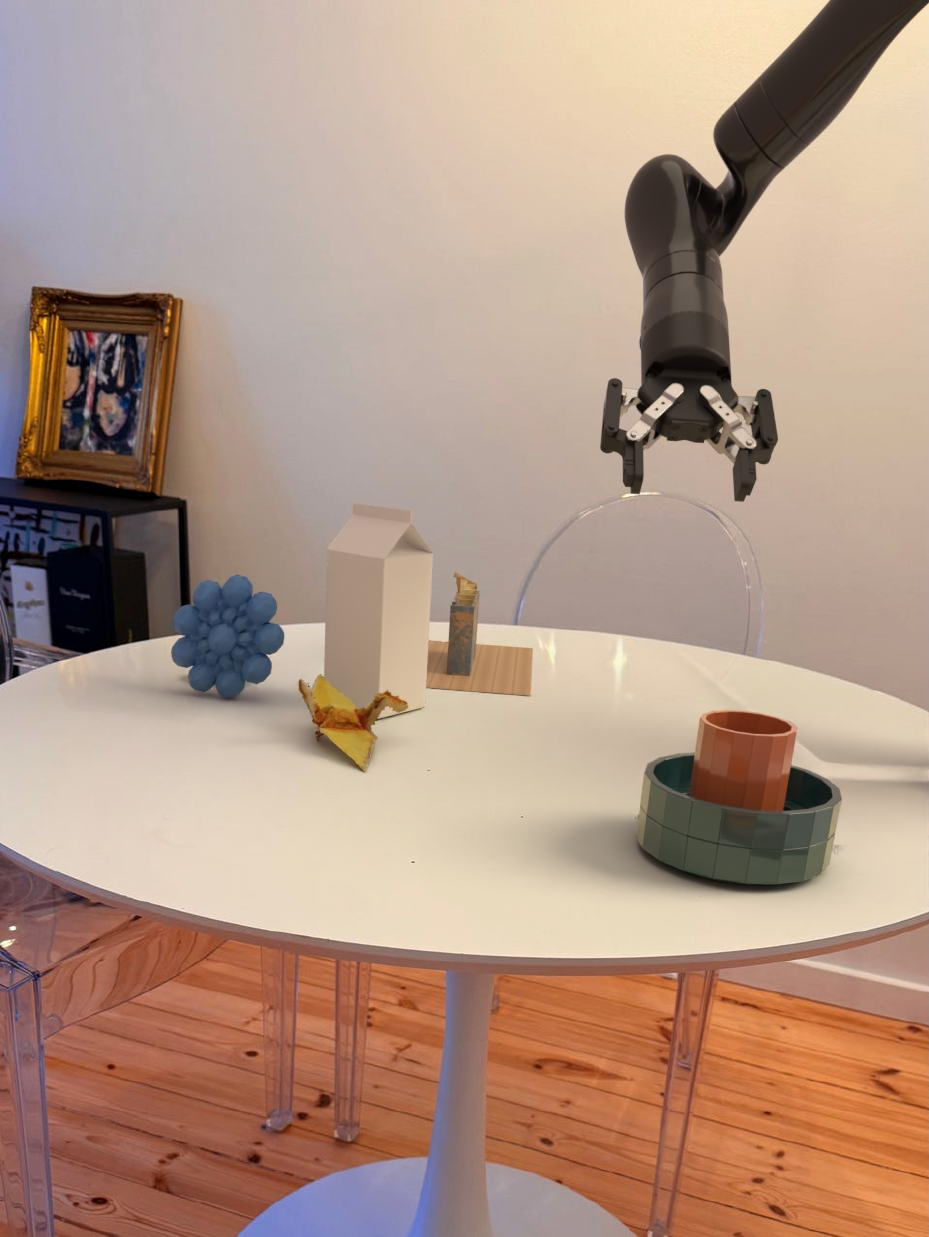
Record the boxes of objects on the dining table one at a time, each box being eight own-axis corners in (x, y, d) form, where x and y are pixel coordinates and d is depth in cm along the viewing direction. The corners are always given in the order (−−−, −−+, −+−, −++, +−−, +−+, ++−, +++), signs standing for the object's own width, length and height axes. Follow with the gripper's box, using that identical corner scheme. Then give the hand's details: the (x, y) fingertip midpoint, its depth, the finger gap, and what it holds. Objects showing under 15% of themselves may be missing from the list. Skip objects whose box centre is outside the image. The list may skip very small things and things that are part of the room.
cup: (759, 831, 84) (778, 712, 80) (788, 865, 78) (811, 737, 75) (673, 828, 83) (690, 708, 80) (696, 862, 77) (715, 733, 74)
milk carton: (377, 721, 107) (386, 512, 101) (322, 705, 111) (327, 503, 104) (425, 708, 113) (436, 509, 106) (371, 694, 116) (378, 501, 110)
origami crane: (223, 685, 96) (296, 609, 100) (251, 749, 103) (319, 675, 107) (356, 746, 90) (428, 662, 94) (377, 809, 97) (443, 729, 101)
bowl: (789, 824, 87) (801, 755, 85) (857, 895, 75) (873, 817, 73) (619, 818, 86) (627, 748, 84) (660, 889, 74) (671, 809, 72)
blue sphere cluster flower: (300, 695, 114) (302, 574, 110) (273, 711, 108) (274, 583, 104) (193, 681, 117) (191, 562, 113) (160, 696, 111) (157, 570, 106)
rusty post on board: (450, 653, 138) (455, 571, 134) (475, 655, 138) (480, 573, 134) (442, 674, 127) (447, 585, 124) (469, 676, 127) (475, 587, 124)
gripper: (609, 302, 96) (609, 452, 89) (778, 314, 96) (791, 464, 89) (596, 371, 102) (595, 516, 96) (754, 382, 103) (764, 527, 96)
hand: (689, 491), depth 92 cm, fingers open, 8 cm apart
